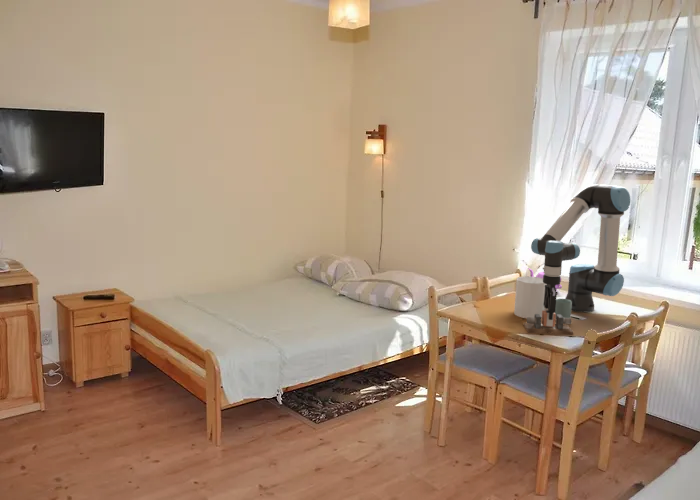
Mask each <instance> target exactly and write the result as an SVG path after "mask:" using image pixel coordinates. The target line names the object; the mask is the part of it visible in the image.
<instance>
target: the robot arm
mask: <svg viewBox="0 0 700 500" xmlns="http://www.w3.org/2000/svg"><path fill="white" fill-rule="evenodd" d="M630 205H631V195H630V192H629V190H628V189H627V188H626V187H624V186H619V185H610V184H609V185H608V184H599V183H598V184H597V183H595V184H590V185H588V186H586V187H583V189H581V190H579V191H578V192H577V193H576V194H575V195H574V196H573V197H572V198H571V199H570V203H569V205H568V206H567V208H565V210H564V211H563V213H561V215H560V216H559V217H558V218H557V219H556V221H555V222H554V223H553V224H552V226H551V227H550V228H548V230H547V231H546V233H544V235H543V236H542V237H540V238H538V237H537V238H534V239H533V240H532V241H531V245H530V249H531V251H532V253H533V254H536V255H539V256H544V263H543V265H544V266H543V267H542V270H543V272H544V275H543V283H545V284H547V285H545V294H544V304H543V305H544V308H545V309H544V311H546V310H548V311H546V312H547V322H546V326H553V316H554V313H555V309H556V299H557V296H558V291H557V290H556V288H555V285H558V284H560V285H561V282H560V278H561V274H562V267H563V265H562V264H563V263H562V262H563V261H571V260H572V261H573V260H575V259H577V258H579V256H580V254H581V249H580V248H581V247H580V246H579V245H578V244H577V243H575V242H569V243H568V242H567V243H565V242H562V239H563V238H564V237H565V236H566V235H567V233H568V232H569V231H570V230H571V228H572V227H573V226H574V225H575V224H576V222H577V221H578V220H579V219H580V217H581V216H582V215H583V214H584V213H588V211H589V210H592V209H597V211H598V212H597V214H598V215H599V216H600V227H599V228H600V229H599V239H598V241H599V243H598V254H597V255H598V256H597V264H596V265H594V264H591V263H590V264H588V263H587V264H586V263H581V264H580V263H579V264H573V265H571V266H570V268H569V273H568V274H569V275H568V276H569V277H568V287H567V294H566V296H565V298H564V299H568V300H571V301H572V309H571V312H578V313H591V312H593V311H595V304H594V298H593V293H596V294H600V295H603V296H607V297H608V296H609V297H614V296H617V295H618V294H619V293H620V292H621V290H622V289H623V287H624V283H625V278H624V276H623V274H622V273H620V267H619V266H618V265H617V263H618V262H617V261H618V253H619V252H618V250H619V249H618V248H619V237H620V225H621V217H623V216H624V215H625V212H626V211H627V210H629V208H630ZM561 279H562V278H561Z"/></svg>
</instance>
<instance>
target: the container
mask: <svg viewBox="0 0 700 500" xmlns="http://www.w3.org/2000/svg"><path fill="white" fill-rule="evenodd" d="M515 282H516V283H515V298H514V310H513V311H514V312H513V314H514V315H515V316H516V317H519V318H523V319H527V317H534V316H535V314H539V315H540V316H541V319H542V311H544V309H545V308H544V305H543V304H544V294H545V285H547V284H545V283H543V278H538V277H536V276H534V277H530V275H529V276H519V277H516V281H515Z"/></svg>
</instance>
